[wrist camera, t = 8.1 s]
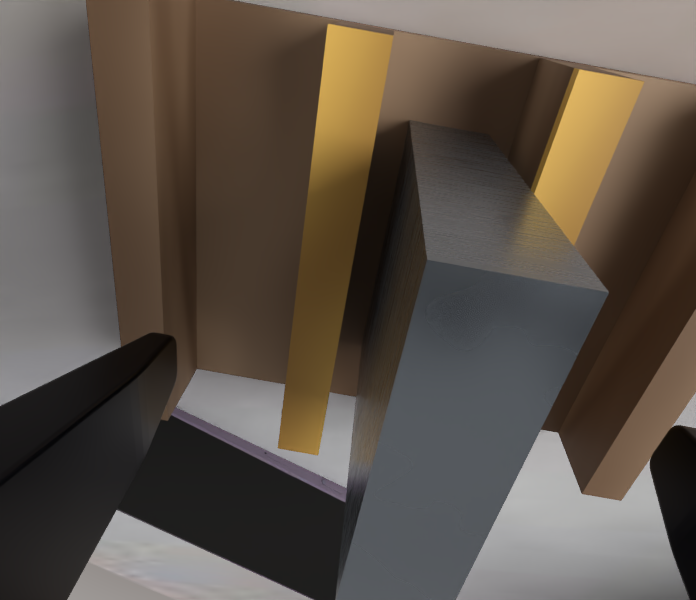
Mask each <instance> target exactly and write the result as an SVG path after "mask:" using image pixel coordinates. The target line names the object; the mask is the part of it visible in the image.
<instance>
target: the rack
mask: <svg viewBox="0 0 696 600" xmlns="http://www.w3.org/2000/svg"><path fill="white" fill-rule="evenodd" d="M86 7H87V17H88V26H89V36H90V46H91V56H92V66H93V75H94V85H95V95H96V105H97V115H98V124H99V134H100V144H101V154H102V164H103V173H104V183H105V193H106V203H107V213H108V222H109V232H110V242H111V252H112V262H113V271H114V281H115V291H116V301H117V311H118V320H119V330H120V340H121V347H122V346H124V345H126V344H128V343H130V342H132V341H134V340H136V339H138V338H140V337H142V336H144V335H146V334H148V333H151V332H156V333H161V334H167V335H172V336H173V337H174V338H175V339H176V344H177V378H176V382H175V385H174V388H173V390H172V393H171V395H170V398H169V400H168V403H167V405H166V407H165V410H164V412H163V415H162V417H161V420H166V421H168V419H169V418H170V416H171V414H172V412H173V411H174V409H175V407H176V405H177V403H178V402H179V400H180V398H181V396H182V394H183V393H184V391H185V389H186V387H187V385H188V384H189V382H190V380H191V378H192V377H193V375H194V373H195V371H196V369H202V370H208V371H213V372H219V373H225V374H230V375H236V376H242V377H247V378H253V379H258V380H264V381H270V382H275V383H281V384H285V392H284V401H283V409H282V418H281V426H280V435H279V443H278V448H279V449H285V450H291V451H296V452H302V453H308V454H313V455H318V453H319V448H320V442H321V437H322V431H323V425H324V420H325V414H326V409H327V403H328V398H329V392H332V393H338V394H343V395H349V396H355V397H356V395H357V385H358V376H359V366H360V356H361V346H362V341H363V337H364V332H365V327H366V322H367V318H368V313H369V308H370V304H371V299H372V294H373V289H374V285H375V280H376V275H377V271H378V266H379V261H380V257H381V252H382V247H383V242H384V238H385V233H386V228H387V224H388V219H389V214H390V209H391V205H392V200H393V195H394V191H395V186H396V181H397V176H398V172H399V167H400V162H401V158H402V153H403V148H404V144H405V139H406V134H407V129H408V125H409V120H412V121H417V122H423V123H428V124H434V125H439V126H445V127H450V128H456V129H461V130H467V131H472V132H478V133H483V134H489V136H490V137H491V138H492V139H493V141H494V142H495V143H496V145H497V146H498V147H499V149H500V150H501V151H502V153H503V154H504V155H505V156H506V158H507V159H508V160H509V162H510V163H511V164H512V166H513V167H514V168H515V170H516V171H517V172H518V174H519V175H520V176H521V177H522V179H523V180H524V181H525V183H526V184H527V185H528V187H529V188H530V189H531V191H532V192H533V193H534V195H535V196H536V197H537V198H538V200H539V201H540V202H541V204H542V205H543V206H544V208H545V209H546V210H547V212H548V213H549V214H550V216H551V217H552V218H553V219H554V221H555V222H556V223H557V225H558V226H559V227H560V229H561V230H562V231H563V233H564V234H565V235H566V237H567V238H568V239H569V240H570V242H571V243H572V244H573V246H574V247H575V248H576V250H577V251H578V252H579V254H580V255H581V256H582V258H583V259H584V260H585V261H586V263H587V264H588V265H589V267H590V268H591V269H592V271H593V272H594V273H595V275H596V276H597V277H598V278H599V280H600V281H601V282H602V284H603V285H604V286H605V288H606V289H607V290H608V292H609V294H608V296H607V298H606V300H605V302H604V304H603V306H602V308H601V310H600V312H599V314H598V316H597V318H596V320H595V322H594V324H593V326H592V328H591V330H590V332H589V334H588V336H587V338H586V340H585V342H584V344H583V346H582V348H581V350H580V352H579V354H578V356H577V358H576V360H575V362H574V364H573V366H572V368H571V370H570V372H569V374H568V376H567V378H566V380H565V382H564V384H563V386H562V388H561V390H560V392H559V394H558V396H557V398H556V400H555V402H554V404H553V406H552V408H551V410H550V412H549V414H548V416H547V418H546V420H545V422H544V424H543V426H542V428H541V430H547V431H552V432H558V433H559V436H560V438H561V441H562V444H563V446H564V449H565V451H566V454H567V456H568V459H569V462H570V464H571V467H572V469H573V472H574V475H575V477H576V480H577V482H578V485H579V487H580V490H581V493H582V494H586V495H592V496H598V497H603V498H609V499H615V500H620V501H621V500H622V499H623V497H624V496H625V494H626V493H627V491H628V490H629V488H630V487H631V486H632V484H633V483H634V481H635V480H636V478H637V477H638V475H639V474H640V472H641V471H642V470H643V468H644V467H645V465H646V464H647V462H648V461H649V459H650V458H651V456H652V454H653V452H654V451H655V450H656V448H657V447H658V445H659V444H660V442H661V441H662V439H663V438H664V436H665V435H666V434H667V432H668V431H669V430H670V428H671V427H672V426H673V424H674V423H675V421H676V420H677V419H678V417H679V416H680V414H681V413H682V411H683V410H684V408H685V407H686V405H687V404H688V403H689V401H690V400H691V398H692V397H693V395H694V394H695V392H696V84H690V83H685V82H679V81H674V80H668V79H663V78H657V77H652V76H646V75H641V74H635V73H630V72H624V71H619V70H613V69H608V68H602V67H597V66H591V65H586V64H580V63H575V62H569V61H564V60H558V59H553V58H547V57H542V56H536V55H531V54H525V53H520V52H514V51H509V50H503V49H498V48H492V47H487V46H481V45H476V44H470V43H465V42H459V41H454V40H448V39H443V38H437V37H432V36H426V35H421V34H415V33H410V32H404V31H399V30H393V29H388V28H382V27H377V26H371V25H366V24H360V23H355V22H350V21H344V20H339V19H333V18H328V17H322V16H317V15H311V14H306V13H300V12H295V11H289V10H284V9H278V8H273V7H267V6H262V5H256V4H251V3H245V2H240V1H234V0H86Z"/></svg>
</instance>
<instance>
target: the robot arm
mask: <svg viewBox="0 0 696 600" xmlns="http://www.w3.org/2000/svg"><path fill="white" fill-rule="evenodd" d="M176 378H177V344H176V339H175V338H174V337H173V336H172V335H167V334H161V333H156V332H151V333H148V334H146V335H144V336H142V337H140V338H138V339H136V340H134V341H132V342H130V343H128V344H126V345H124V346H122V347H120V348H118V349H116V350H114V351H112V352H110V353H107V354H105V355H103V356H101V357H99V358H97V359H95V360H93V361H91V362H89V363H87V364H85V365H83V366H81V367H79V368H77V369H75V370H73V371H71V372H69V373H67V374H65V375H63V376H61V377H59V378H57V379H54V380H52V381H50V382H48V383H46V384H44V385H42V386H40V387H38V388H36V389H34V390H32V391H30V392H28V393H26V394H24V395H22V396H20V397H18V398H16V399H14V400H12V401H10V402H8V403H6V404H4V405H1V406H0V600H67V599H68V597H69V595H70V593H71V592H72V590H73V588H74V586H75V584H76V582H77V581H78V579H79V577H80V575H81V573H82V572H83V570H84V568H85V566H86V564H87V563H88V561H89V559H90V557H91V555H92V553H93V552H94V550H95V548H96V546H97V544H98V543H99V541H100V539H101V537H102V535H103V533H104V532H105V530H106V528H107V526H108V524H109V523H110V521H111V519H112V517H113V515H114V514H115V512H116V510H117V508H118V506H119V504H120V503H121V501H122V499H123V497H124V495H125V494H126V492H127V490H128V488H129V486H130V484H131V483H132V481H133V479H134V477H135V475H136V474H137V472H138V470H139V468H140V466H141V464H142V462H143V460H144V458H145V456H146V454H147V451H148V449H149V447H150V444H151V442H152V439H153V437H154V434H155V432H156V430H157V427H158V425H159V422H160V420H161V417H162V415H163V412H164V410H165V407H166V405H167V403H168V400H169V398H170V395H171V393H172V390H173V388H174V385H175V382H176ZM650 471H651V475H652V479H653V482H654V486H655V490H656V494H657V497H658V501H659V505H660V509H661V513H662V516H663V520H664V524H665V528H666V531H667V535H668V539H669V542H670V546H671V549H672V552H673V555H674V558H675V561H676V564H677V567H678V569H679V572H680V575H681V578H682V580H683V583H684V586H685V588H686V591H687V594H688V596H689V599H690V600H696V428H692V427H686V426H681V425H678V426H674V427H672V428H670V430H669V431H668V432H667V434H666V435H665V436H664V438H663V439H662V441H661V442H660V444H659V445H658V447H657V448H656V450H655V451H654V452H653V454H652V456H651V459H650Z"/></svg>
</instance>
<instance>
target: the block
mask: <svg viewBox="0 0 696 600" xmlns="http://www.w3.org/2000/svg"><path fill="white" fill-rule="evenodd" d="M608 294H609V292H608V290H607V289H606V288H605V286H604V285H603V284H602V282H601V281H600V280H599V278H598V277H597V276H596V275H595V273H594V272H593V271H592V269H591V268H590V267H589V265H588V264H587V263H586V261H585V260H584V259H583V258H582V256H581V255H580V254H579V252H578V251H577V250H576V248H575V247H574V246H573V244H572V243H571V242H570V240H569V239H568V238H567V237H566V235H565V234H564V233H563V231H562V230H561V229H560V227H559V226H558V225H557V223H556V222H555V221H554V219H553V218H552V217H551V216H550V214H549V213H548V212H547V210H546V209H545V208H544V206H543V205H542V204H541V202H540V201H539V200H538V198H537V197H536V196H535V195H534V193H533V192H532V191H531V189H530V188H529V187H528V185H527V184H526V183H525V181H524V180H523V179H522V177H521V176H520V175H519V174H518V172H517V171H516V170H515V168H514V167H513V166H512V164H511V163H510V162H509V160H508V159H507V158H506V156H505V155H504V154H503V153H502V151H501V150H500V149H499V147H498V146H497V145H496V143H495V142H494V141H493V139H492V138H491V137H490V136H489V134H483V133H478V132H472V131H467V130H461V129H456V128H450V127H445V126H439V125H434V124H428V123H423V122H417V121H412V120H409V125H408V129H407V134H406V139H405V144H404V148H403V153H402V158H401V162H400V167H399V172H398V176H397V181H396V186H395V191H394V195H393V200H392V205H391V209H390V214H389V219H388V224H387V228H386V233H385V238H384V242H383V247H382V252H381V257H380V261H379V266H378V271H377V275H376V280H375V285H374V289H373V294H372V299H371V304H370V308H369V313H368V318H367V322H366V327H365V332H364V337H363V341H362V346H361V356H360V366H359V376H358V385H357V395H356V405H355V414H354V424H353V434H352V443H351V453H350V463H349V473H348V482H347V492H346V502H345V511H344V521H343V531H342V541H341V550H340V560H339V570H338V579H337V589H336V599H335V600H456V598H457V596H458V594H459V592H460V590H461V588H462V586H463V584H464V582H465V580H466V578H467V576H468V574H469V572H470V570H471V568H472V566H473V564H474V562H475V560H476V558H477V556H478V554H479V552H480V550H481V548H482V546H483V544H484V542H485V540H486V538H487V536H488V534H489V532H490V530H491V528H492V526H493V524H494V522H495V520H496V518H497V516H498V514H499V512H500V510H501V508H502V506H503V504H504V502H505V500H506V498H507V496H508V494H509V492H510V490H511V488H512V486H513V484H514V482H515V480H516V478H517V476H518V474H519V472H520V470H521V468H522V466H523V464H524V462H525V460H526V458H527V456H528V454H529V452H530V450H531V448H532V446H533V444H534V442H535V440H536V438H537V436H538V434H539V432H540V430H541V428H542V426H543V424H544V422H545V420H546V418H547V416H548V414H549V412H550V410H551V408H552V406H553V404H554V402H555V400H556V398H557V396H558V394H559V392H560V390H561V388H562V386H563V384H564V382H565V380H566V378H567V376H568V374H569V372H570V370H571V368H572V366H573V364H574V362H575V360H576V358H577V356H578V354H579V352H580V350H581V348H582V346H583V344H584V342H585V340H586V338H587V336H588V334H589V332H590V330H591V328H592V326H593V324H594V322H595V320H596V318H597V316H598V314H599V312H600V310H601V308H602V306H603V304H604V302H605V300H606V298H607V296H608Z"/></svg>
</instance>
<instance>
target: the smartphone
mask: <svg viewBox="0 0 696 600" xmlns="http://www.w3.org/2000/svg"><path fill="white" fill-rule="evenodd" d="M346 492H347V489H346V488H344V487H342V486H340V485H338V484H336V483H334V482H332V481H330V480H328V479H325V478H323V477H321V476H319V475H317V474H315V473H313V472H311V471H309V470H306V469H304V468H302V467H300V466H298V465H296V464H294V463H292V462H290V461H287V460H285V459H283V458H281V457H279V456H277V455H275V454H273V453H271V452H268V451H266V450H264V449H262V448H260V447H258V446H256V445H254V444H252V443H250V442H247V441H245V440H243V439H241V438H239V437H237V436H235V435H233V434H231V433H229V432H226V431H224V430H222V429H220V428H218V427H216V426H214V425H212V424H210V423H207V422H205V421H203V420H201V419H199V418H197V417H195V416H193V415H191V414H188V413H186V412H184V411H182V410H180V409H178V408H176V407H175V409H174V411H173V412H172V414H171V416H170V418H169V419H168V421H166V420H160V422H159V425H158V427H157V430H156V432H155V434H154V437H153V439H152V442H151V444H150V447H149V449H148V451H147V454H146V456H145V458H144V460H143V462H142V464H141V466H140V468H139V470H138V472H137V474H136V475H135V477H134V479H133V481H132V483H131V484H130V486H129V488H128V490H127V492H126V494H125V495H124V497H123V499H122V501H121V503H120V504H119V506H118V508H117V510H118V511H121V512H123V513H125V514H127V515H129V516H132V517H134V518H136V519H138V520H140V521H142V522H145V523H147V524H149V525H151V526H153V527H156V528H158V529H160V530H162V531H164V532H166V533H169V534H171V535H173V536H175V537H177V538H180V539H182V540H184V541H186V542H188V543H191V544H193V545H195V546H197V547H199V548H201V549H204V550H206V551H208V552H210V553H212V554H215V555H217V556H219V557H221V558H223V559H225V560H228V561H230V562H232V563H234V564H236V565H239V566H241V567H243V568H245V569H247V570H249V571H252V572H254V573H256V574H258V575H260V576H263V577H265V578H267V579H269V580H271V581H274V582H276V583H278V584H280V585H282V586H284V587H287V588H289V589H291V590H293V591H295V592H298V593H300V594H302V595H304V596H306V597H308V598H311V599H313V600H335V599H336V589H337V579H338V570H339V560H340V550H341V541H342V531H343V521H344V511H345V502H346Z"/></svg>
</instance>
